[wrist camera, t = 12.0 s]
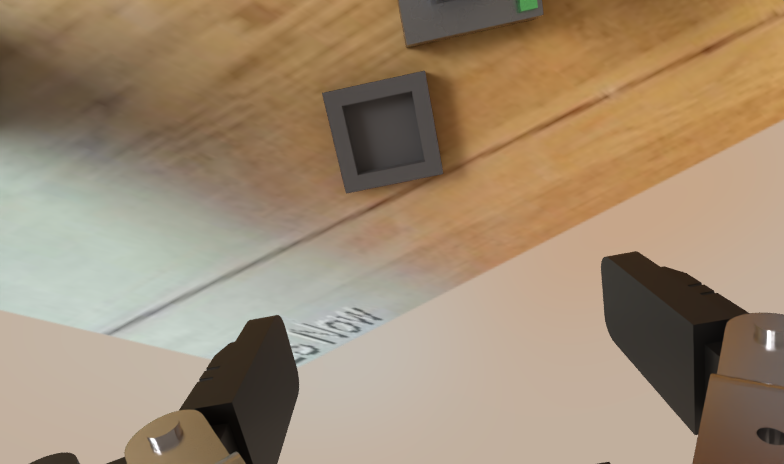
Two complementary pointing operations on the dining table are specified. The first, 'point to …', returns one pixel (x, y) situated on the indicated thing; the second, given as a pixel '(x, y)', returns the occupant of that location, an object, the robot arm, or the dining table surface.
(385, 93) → the holster
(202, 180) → the dining table surface
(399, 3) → the port
